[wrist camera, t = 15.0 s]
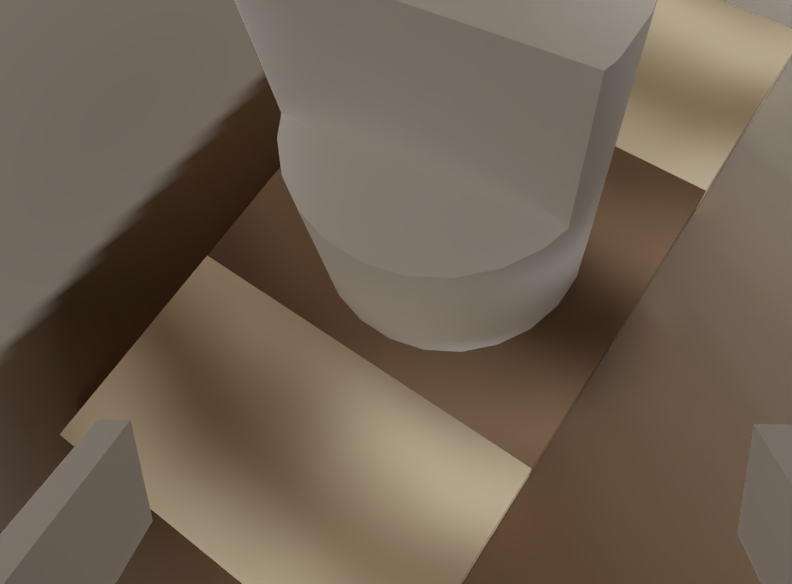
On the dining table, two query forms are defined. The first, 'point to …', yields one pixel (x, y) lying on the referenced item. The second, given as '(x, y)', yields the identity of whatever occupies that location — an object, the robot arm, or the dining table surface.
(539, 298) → the base with upright slab
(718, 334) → the dining table surface
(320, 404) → the pine board
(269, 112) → the dining table surface
